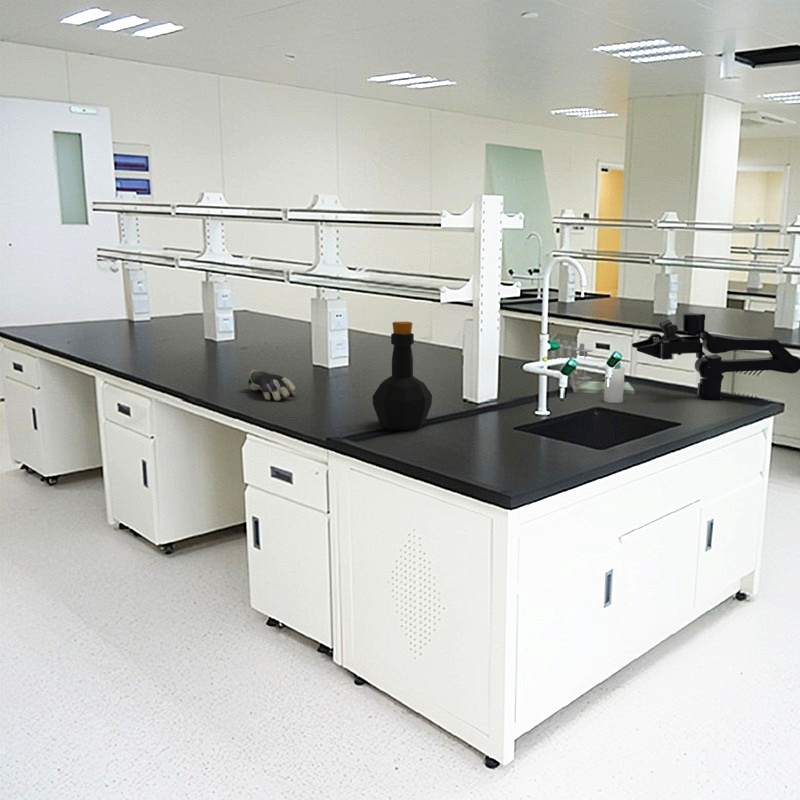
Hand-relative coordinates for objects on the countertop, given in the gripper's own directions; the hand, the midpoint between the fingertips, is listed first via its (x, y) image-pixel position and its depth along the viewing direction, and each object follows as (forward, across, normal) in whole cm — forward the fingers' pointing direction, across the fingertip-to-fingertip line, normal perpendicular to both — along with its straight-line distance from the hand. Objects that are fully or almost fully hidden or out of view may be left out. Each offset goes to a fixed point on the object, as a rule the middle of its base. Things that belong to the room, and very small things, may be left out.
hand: (634, 347), depth 272 cm
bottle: (+74, +48, +13) cm, 89 cm away
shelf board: (+9, -11, +16) cm, 22 cm away
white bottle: (+8, +8, +16) cm, 20 cm away
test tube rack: (+20, -39, +16) cm, 47 cm away
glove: (+122, +10, +10) cm, 123 cm away
